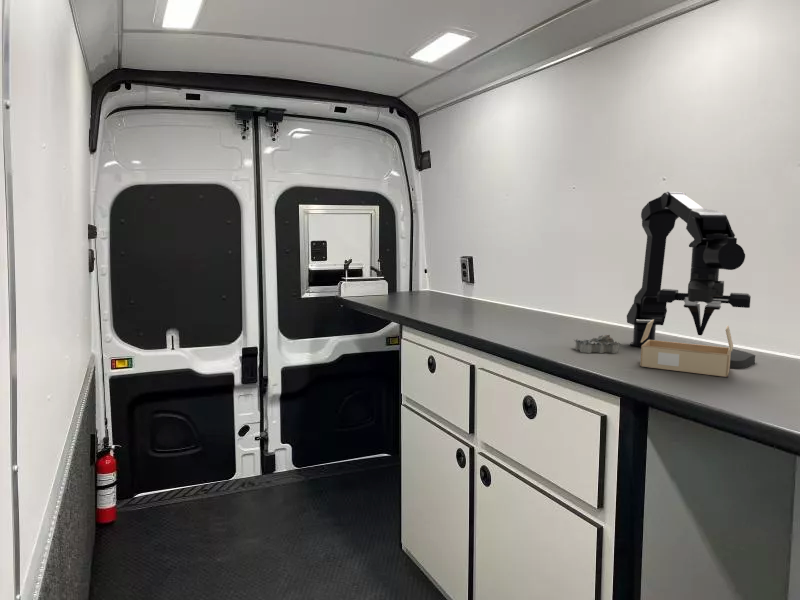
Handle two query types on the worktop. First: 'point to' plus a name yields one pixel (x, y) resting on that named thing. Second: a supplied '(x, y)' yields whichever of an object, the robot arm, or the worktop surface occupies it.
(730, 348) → the flap
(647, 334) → the flap
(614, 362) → the worktop surface
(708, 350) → the carton
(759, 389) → the worktop surface
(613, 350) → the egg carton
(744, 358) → the media streaming box
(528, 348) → the worktop surface
